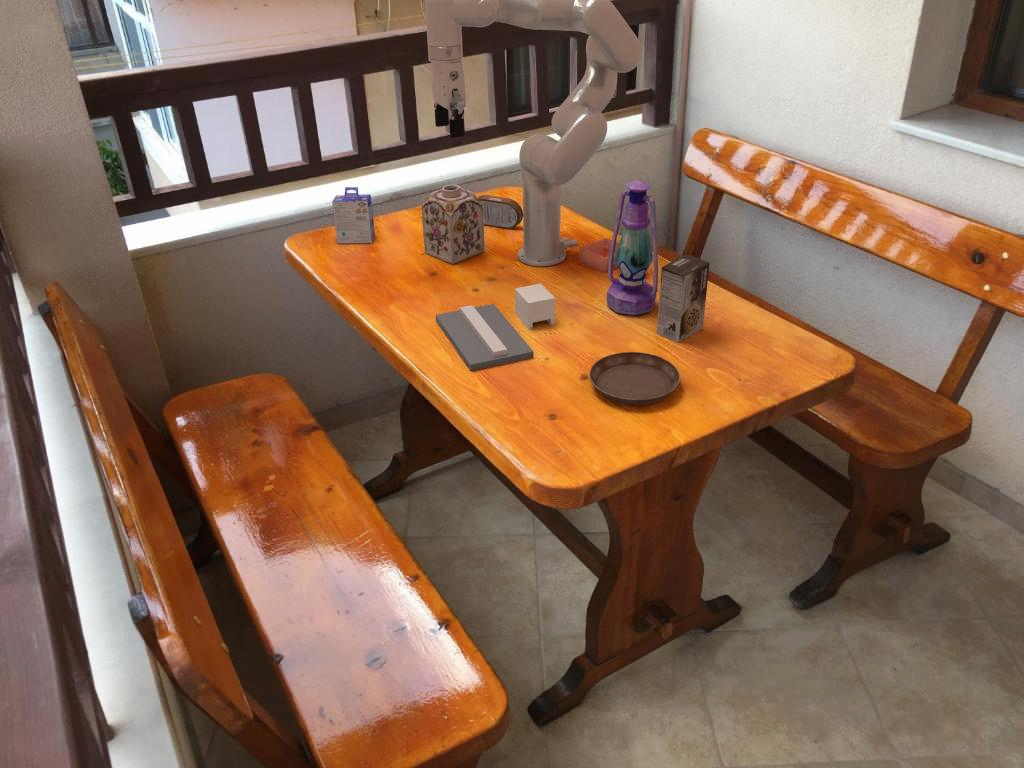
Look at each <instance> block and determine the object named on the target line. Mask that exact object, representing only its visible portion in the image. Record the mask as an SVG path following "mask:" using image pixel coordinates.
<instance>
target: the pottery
mask: <svg viewBox="0 0 1024 768" xmlns="http://www.w3.org/2000/svg"><path fill="white" fill-rule="evenodd" d="M611 242H612V239H609V238H607V237H604V238H601V239H599V240H596V241H593V242H591V243H588V244H585V245H583V246H582V245H581V246H579V251H578V253H579V254H578V255H579V256H578V257H579V258H578V263H580V264H583V265H585V266H587V267H589V268H592V269H594V270H597V271H598V272H601V273H603V274H605V273H608V269H609V254H610V248H611ZM618 245H619V242H617V241H616V245H615V252H614V262H613V270H615V269H619V268H618V267H617V265H616V262H615V256H616V253H617V249H618ZM645 273H646V275H647V273H648V270H647V271H646V272H645Z"/></svg>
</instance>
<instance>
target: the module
mask: <svg viewBox="0 0 1024 768" xmlns="http://www.w3.org/2000/svg"><path fill="white" fill-rule="evenodd" d="M514 302H515V303H514V311H515V312H514V314H515V315H516V317H517V318H518V319H519V320H520V322H522V323H523V325H524V326H525V327H526V328H527V329H528V330H532V329H533V328H534V327H533V324H534V323H538V322H542V321H546V322H548V323H549V325H550V326H551V325H555V324H556V297H555V296H554V295H553V294H552V293H551V292H550V291H549V290H548V289H547V288H546V287H545V286H544V285H543V284H542V283H536V284H532V285H527V286H521V287H516V288H514Z"/></svg>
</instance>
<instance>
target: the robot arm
mask: <svg viewBox="0 0 1024 768" xmlns="http://www.w3.org/2000/svg"><path fill="white" fill-rule="evenodd" d="M424 4H425V5H424V6H425V21H426V22H425V23H426V38H427V51H428V52H427V54H428V55H427V56H428V61H429V62H430V63H431V91H432V99H433V101H434V102H433V108H434V109H433V110H434V122H435V127H437V128H439V127H448V126H449V136H450V138H452V139H453V138H461V137H464V136H465V122H464V119H465V116H464V113H465V110H464V108H465V107H466V106H467V95H466V83H465V74H464V68H463V67H464V66H463V62H462V61H463V59H464V55H463V35H462V34H463V33H462V31H463V30H462V27H470V28H471V27H474V28H484V27H485V28H486V27H488V26H490V25H492V24H493V23H494V22H496V23H504V24H508V25H511V26H516V27H518V28H523V29H526V30H527V29H529V30H535V31H539V30H541V31H566V32H567V31H568V32H569V31H570V32H571V31H572V32H580V33H584V34H587V35H588V37H587V39H586V44H585V45H586V46H585V52H586V66H585V67H586V68H585V71H584V75H583V77H582V79H581V80H580V81H579V83H578V84H577V86H576V87H575V88H574V89H573V91H572V92H571V93H570V94H569V95H568V96H567V97H566V99H565V100H564V101H563V102H562V103H561V104H560V105H559V106H558V108H557V109H556V111H555V112H554V114H553V115H552V118H551V128H552V129H553V131H554V133H555V134H556V135H557V136H558V137H560V138H559V139H558V140H557V139H555V138H553V136H550V135H547V134H544V133H534V134H532V135H529V136H528V137H527V138H526V139H525V140H523V142H522V144H521V146H520V150H519V156H518V157H519V160H518V161H519V166H520V171H521V172H520V174H521V180H522V211H523V219H522V223H523V224H522V225H523V226H522V227H523V232H522V235H523V239H522V240H523V245H522V247H520V249H519V250H518V251H517V260H519V262H521V263H523V264H525V265H528V266H533V267H549V266H550V267H551V266H555V265H558V264H560V263H562V262H564V261H565V259H566V257H567V251H566V250H567V249H568V248H575V247H578V246H579V245H578V240H577V239H576V238H575V239H570V238H569V237H563V238H562V237H561V219H562V218H561V213H562V211H561V210H562V209H561V205H562V203H561V202H562V185H563V186H564V185H565V184H568V183H570V182H571V180H573V179H574V178H575V177H576V176H577V174H579V172H580V171H581V170H582V169H583V168H584V166H585V165H586V164H587V163H588V162H589V161H590V159H592V157H593V156H594V155H595V154H596V153H597V151H598V150H599V149H600V148H601V146H602V145H603V143H604V141H605V140H606V137H607V132H608V122H607V119H606V117H605V115H604V114H603V113H602V112H603V111H604V110H605V108H606V107H607V105H609V103H610V102H611V100H612V98H613V97H614V95H615V92H616V90H617V89H616V88H617V85H618V84H617V83H618V73H621V74H622V73H623V74H626V73H628V72H629V73H630V72H631V71H633V70H634V69H635V68H636V67H638V65H639V63H640V62H641V58H642V53H643V52H642V45H641V42H640V40H639V38H638V36H637V35H636V34H635V32H634V31H633V29H632V28H631V27H630V26H629V24H628V23H627V21H626V19H624V17H623V16H622V15H621V13H620V12H619V10H618V9H617V8H616V7H615V5H614V4H613V2H612V1H611V0H424Z"/></svg>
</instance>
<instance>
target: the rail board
mask: <svg viewBox="0 0 1024 768" xmlns="http://www.w3.org/2000/svg"><path fill="white" fill-rule="evenodd" d="M435 322H436V323H437V325H439V327H440V329H441V331H442V332H443V333H444V335H445V336H446V338H447V339H448V340H449V342H450V343H451V345H452V346H453V348H454V349H455V350H456V352H457V353H458V355H459V356H460V358H461V359H462V361H463V362H464V364H465V365H466V366H467V368H468V369H469V371H470V372H472V371H477V370H482V369H487V368H491V367H496V366H500V365H505V364H510V363H515V362H520V361H524V360H528V359H533V358H534V350H533V349H532V348H531V346H530V345H529V343H527V341H526V340H525V339H524V338H523V337H522V336H521V335H520V333H519V332H518V331H517V330H516V329H515V328H514V326H513V325H512V324H511V323H510V321H509V320H508V318H506V317H505V316H504V314H503V313H502V312H501V311H500V309H498V307H497V306H496V305H495V304H494V303H489V304H485V305H481V306H474V305H473V304H472V305H465V306H461V307H459V309H457V310H453V311H447V312H443V313H437V314H435Z"/></svg>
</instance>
